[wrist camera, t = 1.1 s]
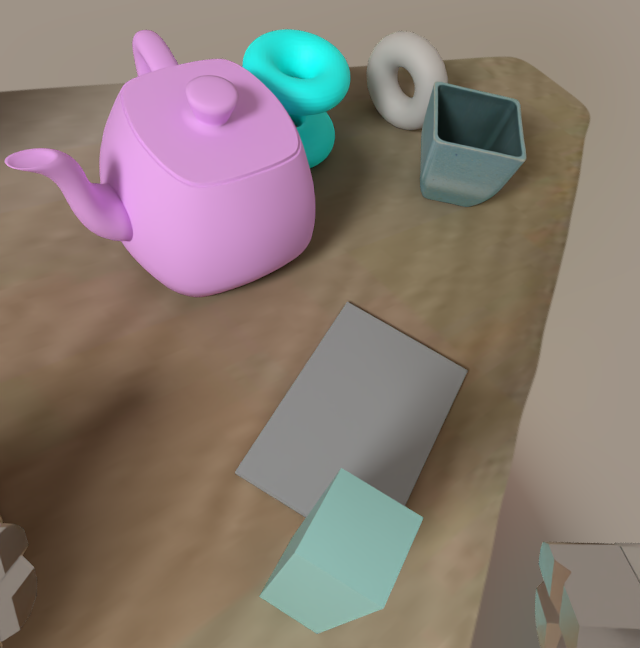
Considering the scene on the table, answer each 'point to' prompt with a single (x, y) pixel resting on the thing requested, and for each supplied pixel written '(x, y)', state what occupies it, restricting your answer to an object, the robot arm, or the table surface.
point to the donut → (384, 81)
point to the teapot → (193, 174)
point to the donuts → (302, 83)
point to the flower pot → (469, 144)
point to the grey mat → (355, 415)
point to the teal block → (343, 556)
